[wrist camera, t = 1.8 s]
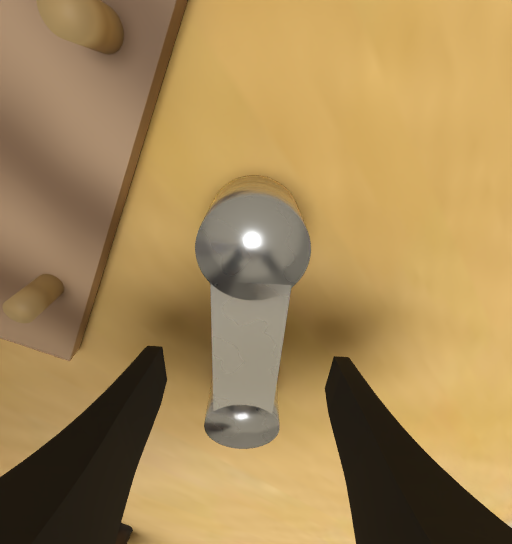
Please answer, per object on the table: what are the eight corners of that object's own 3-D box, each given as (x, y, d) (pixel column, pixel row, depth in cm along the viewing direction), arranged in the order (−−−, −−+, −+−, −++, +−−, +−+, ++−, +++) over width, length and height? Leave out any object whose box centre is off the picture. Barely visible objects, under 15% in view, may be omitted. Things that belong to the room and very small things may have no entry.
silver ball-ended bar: (273, 399, 19) (275, 450, 16) (213, 397, 19) (205, 447, 16) (305, 178, 12) (320, 200, 9) (208, 171, 11) (192, 192, 9)
